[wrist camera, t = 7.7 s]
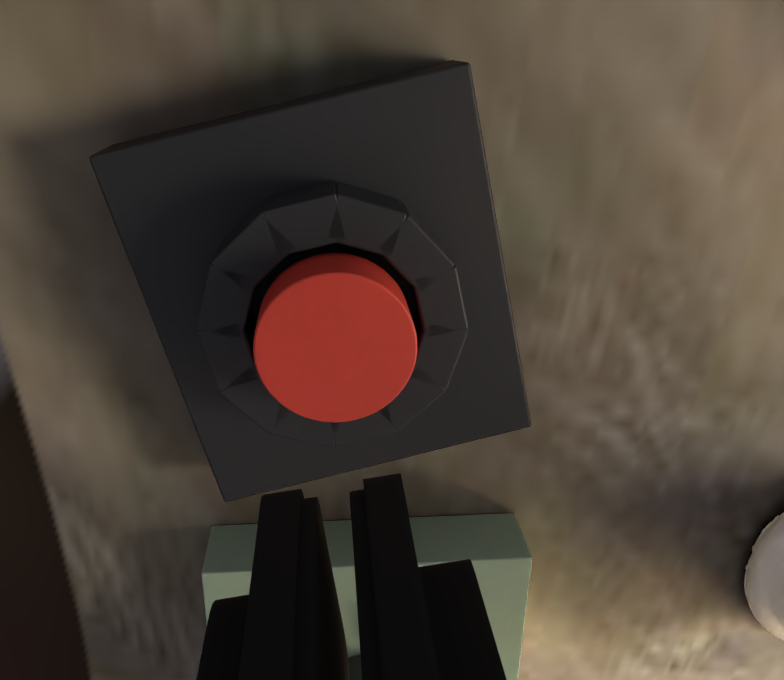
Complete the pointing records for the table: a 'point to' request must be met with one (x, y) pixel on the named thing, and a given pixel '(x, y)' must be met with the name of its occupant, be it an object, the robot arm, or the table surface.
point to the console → (432, 546)
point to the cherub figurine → (767, 578)
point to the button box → (317, 236)
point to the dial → (355, 668)
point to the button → (334, 338)
